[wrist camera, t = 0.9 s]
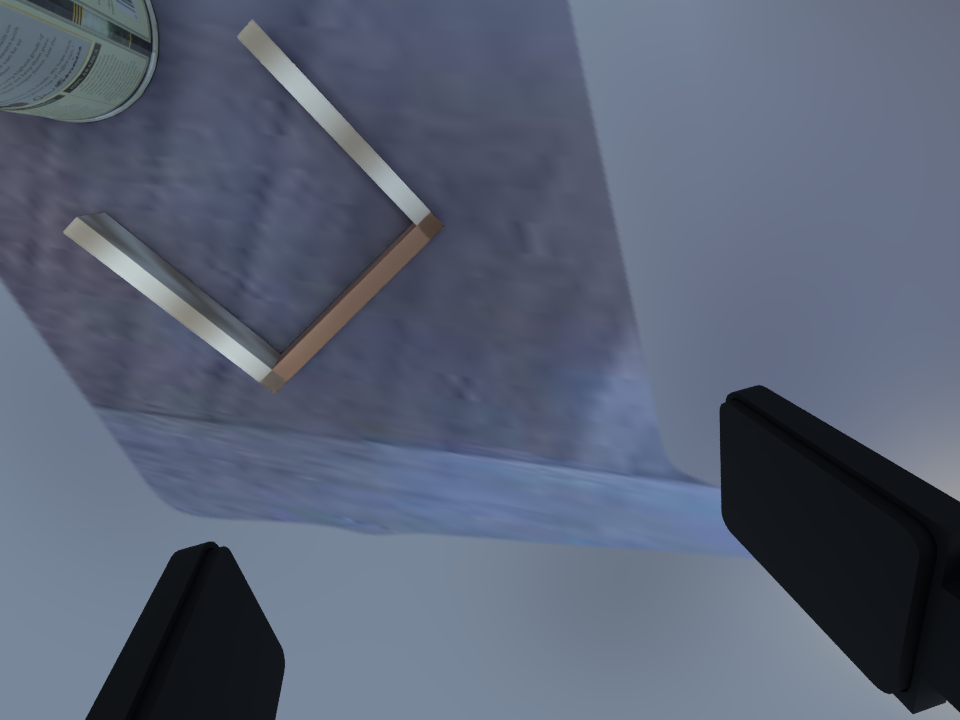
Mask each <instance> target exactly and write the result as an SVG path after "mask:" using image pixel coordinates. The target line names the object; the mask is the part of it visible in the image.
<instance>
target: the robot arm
mask: <svg viewBox="0 0 960 720" xmlns="http://www.w3.org/2000/svg"><path fill="white" fill-rule="evenodd" d="M720 455H721V457H720V458H721V509H722V517H723V520H724V522H725V525H726V526H727V528H728V529H729V531H730V532H731V533H732V534H733V535H734V536H735V537H736V538H737V540H738V541H739V542H740V543H741V544H742V545H743V546H744V547H745V548H746V549H747V550H748V551H749V552H750V553H751V554H752V555H753V557H754V558H755V559H756V560H757V561H758V562H759V563H760V564H761V565H762V566H763V567H764V568H765V569H766V570H767V571H768V572H769V574H770V575H771V576H772V577H773V578H774V579H775V580H776V581H777V582H778V583H779V584H780V585H781V586H782V587H783V588H784V589H785V591H787V593H788V594H789V595H790V596H791V597H792V598H793V599H794V600H795V601H796V602H797V603H798V604H799V605H800V607H801V608H802V609H803V610H804V611H805V612H806V613H807V614H808V615H809V616H810V617H811V618H812V619H813V620H814V621H815V622H816V624H817V625H818V626H819V627H820V628H821V629H822V630H823V631H824V632H825V633H826V634H827V635H828V636H829V637H830V638H831V639H832V641H833V642H834V643H835V644H836V645H837V646H838V647H839V648H840V649H841V650H842V651H843V652H844V653H845V654H846V655H847V656H848V658H850V660H851V661H852V662H853V663H854V664H855V665H856V666H857V667H858V668H859V669H860V670H861V671H862V672H863V673H864V675H865V676H866V677H867V678H868V679H869V680H870V681H871V682H872V683H873V684H874V685H875V686H876V687H877V688H878V689H880V690H881V691H883V692H884V693H887V694H892V693H893V694H894V695H895V696H896V697H897V698H898V699H899V700H900V701H901V702H902V703H903V704H904V705H905V707H906V708H907V709H908V710H909V711H910V712H911V713H912V714H915V713H918V712H921V711H923V710H926V709H929V708H932V707H935V706H937V705H940V704H943V703H946V700H947V701H948V702H949V703H950V704H952V705H953V706H954V707H955V708H956V709H957V710H958V711H959V712H960V502H959V501H958V500H956V499H954V498H952V497H950V496H949V495H947V494H946V493H944V492H942V491H941V490H939V489H937V488H935V487H934V486H932V485H930V484H929V483H927V482H925V481H924V480H922V479H920V478H919V477H917V476H915V475H913V474H912V473H910V472H908V471H907V470H905V469H903V468H902V467H900V466H898V465H896V464H895V463H893V462H891V461H890V460H888V459H886V458H885V457H883V456H881V455H880V454H878V453H876V452H874V451H873V450H871V449H869V448H868V447H866V446H864V445H863V444H861V443H859V442H857V441H856V440H854V439H852V438H850V437H849V436H847V435H846V434H844V433H842V432H840V431H839V430H837V429H835V428H834V427H832V426H830V425H829V424H827V423H825V422H823V421H822V420H820V419H818V418H817V417H815V416H813V415H812V414H810V413H808V412H807V411H805V410H803V409H801V408H800V407H798V406H796V405H795V404H793V403H791V402H790V401H788V400H786V399H784V398H783V397H781V396H779V395H778V394H776V393H774V392H773V391H771V390H769V389H768V388H766V387H764V386H760V385H758V386H753V387H750V388H746V389H743V390H739V391H736V392H732V393H730V394H729V395H728V396H727V398H726V402H725V403H723V404H721V406H720ZM284 669H285V659H284V653H283V649H282V647H281V645H280V643H279V641H278V640H277V638H276V636H275V634H274V632H273V630H272V628H271V626H270V624H269V622H268V621H267V619H266V617H265V615H264V613H263V611H262V609H261V607H260V605H259V604H258V602H257V600H256V598H255V596H254V594H253V592H252V590H251V589H250V587H249V585H248V583H247V581H246V579H245V577H244V575H243V574H242V572H241V570H240V568H239V566H238V564H237V562H236V560H235V559H234V557H233V555H232V553H231V551H230V550H229V549H228V548H227V547H224V546H223V547H219V546H218V545H217V544H216V543H215V542H206V543H203V544H199V545H196V546H192V547H189V548H185V549H182V550H179V551H177V552H175V553H174V554H173V556H172V557H171V559H170V561H169V562H168V564H167V566H166V568H165V570H164V572H163V574H162V576H161V577H160V579H159V581H158V583H157V585H156V587H155V589H154V591H153V593H152V594H151V596H150V598H149V600H148V602H147V604H146V606H145V608H144V610H143V612H142V614H141V615H140V617H139V619H138V621H137V623H136V625H135V627H134V629H133V630H132V632H131V634H130V636H129V638H128V640H127V642H126V644H125V646H124V647H123V649H122V652H121V653H120V655H119V657H118V659H117V661H116V663H115V664H114V666H113V668H112V670H111V672H110V674H109V676H108V678H107V680H106V682H105V683H104V685H103V687H102V689H101V691H100V693H99V695H98V697H97V698H96V700H95V702H94V704H93V706H92V708H91V710H90V712H89V714H88V716H87V717H86V719H85V720H275V718H276V713H277V707H278V702H279V697H280V691H281V686H282V681H283V676H284Z"/></svg>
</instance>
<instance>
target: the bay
mask: <svg viewBox="0 0 960 720" xmlns="http://www.w3.org/2000/svg"><path fill="white" fill-rule="evenodd" d="M237 38H238V39H239V40H240V41H241V42H242V43H243V44H244V45H245V46H246V47H247V48H248V49H249V50H250V51H251V53H252V54H253V55H254V56H255V57H256V58H257V59H258V60H259V61H260V62H261V63H262V64H263V65H264V66H265V67H266V68H267V69H268V70H269V71H270V72H271V73H272V75H273V76H274V77H275V78H276V79H277V80H278V81H279V82H280V83H281V84H282V85H283V86H284V87H285V88H286V89H287V90H288V91H289V92H290V93H291V94H292V96H293V97H294V98H295V99H296V100H297V101H298V102H299V103H300V104H301V105H302V106H303V107H304V108H305V109H306V110H307V111H308V112H309V113H310V114H311V115H312V116H313V118H314V119H315V120H316V121H317V122H318V123H319V124H320V125H321V126H322V127H323V128H324V129H325V130H326V131H327V132H328V133H329V134H330V135H331V136H332V137H333V138H334V140H335V141H336V142H337V143H338V144H339V145H340V146H341V147H342V148H343V149H344V150H345V151H346V152H347V153H348V154H349V155H350V156H351V157H352V158H353V159H354V161H355V162H356V163H357V164H358V165H359V166H360V167H361V168H362V169H363V170H364V171H365V172H366V173H367V174H368V175H369V176H370V177H371V178H372V179H373V180H374V181H375V183H376V184H377V185H378V186H379V187H380V188H381V189H382V190H383V191H384V192H385V193H386V194H387V195H388V196H389V197H390V198H391V199H392V200H393V201H394V202H395V203H396V205H397V206H398V207H399V208H400V209H401V210H402V211H403V212H404V213H405V214H406V215H407V216H408V217H409V218H410V219H411V220H412V221H413V222H412V223H411V224H410V225H409V226H408V227H407V228H406V229H405V230H404V231H403V232H402V233H401V234H400V235H399V236H398V237H397V238H396V239H395V240H394V241H393V242H392V243H391V244H390V245H389V246H388V247H387V248H386V249H385V250H384V251H383V252H382V253H381V254H380V255H379V256H378V257H377V258H376V259H375V260H374V261H373V262H372V263H371V264H370V265H369V266H368V267H367V268H366V269H365V270H364V271H363V272H362V273H361V274H360V275H359V276H358V277H357V278H356V279H355V280H354V281H353V282H352V283H351V284H350V285H349V286H348V287H347V288H346V289H345V290H344V291H343V292H342V293H341V294H340V295H339V296H338V297H337V298H336V299H335V300H334V301H333V302H332V303H331V304H330V305H329V306H328V307H327V308H326V309H325V310H324V311H323V312H322V313H321V314H320V315H319V316H318V317H317V318H316V319H315V320H314V321H313V322H312V323H311V324H310V325H309V326H308V327H307V328H306V329H305V330H304V331H303V332H302V333H301V334H300V335H299V336H298V337H297V338H296V339H295V340H294V341H293V342H292V343H291V344H290V345H289V346H288V347H287V348H286V349H285V350H284V351H283V352H282V353H281V354H280V353H279V352H278V351H276V350H275V349H274V348H273V347H272V346H270V345H269V344H268V343H267V342H265V341H264V340H263V339H262V338H260V337H259V336H258V335H257V334H255V333H254V332H253V331H252V330H250V329H249V328H248V327H247V326H245V325H244V324H243V323H242V322H240V321H239V320H238V319H237V318H235V317H234V316H233V315H232V314H230V313H229V312H228V311H227V310H226V309H224V308H223V307H222V306H221V305H219V304H218V303H217V302H216V301H214V300H213V299H212V298H211V297H209V296H208V295H207V294H206V293H204V292H203V291H202V290H201V289H199V288H198V287H197V286H196V285H194V284H193V283H192V282H191V281H189V280H188V279H187V278H186V277H184V276H183V275H182V274H181V273H179V272H178V271H177V270H176V269H175V268H173V267H172V266H171V265H170V264H168V263H167V262H166V261H165V260H163V259H162V258H161V257H160V256H158V255H157V254H156V253H155V252H153V251H152V250H151V249H150V248H148V247H147V246H146V245H145V244H143V243H142V242H141V241H140V240H138V239H137V238H136V237H135V236H133V235H132V234H131V233H130V232H128V231H127V230H126V229H125V228H124V227H122V226H121V225H120V224H119V223H117V222H116V221H115V220H114V219H112V218H111V217H110V216H109V215H107V214H106V213H98V214H92V215H85V216H78V217H76V218H75V219H74V220H73V222H72V223H71V224H70V225H69V226H68V227H67V228H66V229H65V231H64V232H63V233H64V234H66V235H67V236H68V237H70V238H71V239H72V240H74V241H75V242H76V243H78V244H79V245H80V246H81V247H83V248H84V249H85V250H87V251H88V252H89V253H91V254H92V255H93V256H95V257H96V258H97V259H98V260H100V261H101V262H102V263H104V264H105V265H106V266H108V267H109V268H110V269H112V270H113V271H114V272H116V273H117V274H118V275H119V276H121V277H122V278H123V279H125V280H126V281H127V282H129V283H130V284H131V285H133V286H134V287H135V288H136V289H138V290H139V291H140V292H142V293H143V294H144V295H146V296H147V297H148V298H150V299H151V300H152V301H153V302H155V303H156V304H157V305H159V306H160V307H161V308H163V309H164V310H165V311H167V312H168V313H169V314H171V315H172V316H173V317H174V318H176V319H177V320H178V321H180V322H181V323H182V324H184V325H185V326H186V327H188V328H189V329H190V330H191V331H193V332H194V333H195V334H197V335H198V336H199V337H201V338H202V339H203V340H205V341H206V342H207V343H208V344H210V345H211V346H212V347H214V348H215V349H216V350H218V351H219V352H220V353H222V354H223V355H224V356H226V357H227V358H228V359H229V360H231V361H232V362H233V363H235V364H236V365H237V366H239V367H240V368H241V369H243V370H244V371H245V372H246V373H248V374H249V375H250V376H252V377H253V378H254V379H256V380H257V381H258V382H260V383H261V384H262V385H263V386H265V387H266V388H267V389H269V390H270V391H271V392H273V393H274V394H275V393H276V392H277V391H278V390H279V389H280V388H281V387H282V386H283V385H284V384H285V383H286V382H287V381H288V380H289V379H290V378H291V377H292V376H293V375H295V374H296V373H297V372H298V371H299V370H300V369H301V368H302V367H303V366H304V365H305V364H306V363H307V362H308V361H309V360H310V359H311V358H312V357H313V356H314V355H315V354H316V353H317V352H318V351H319V350H320V349H321V348H322V347H323V346H324V345H325V344H326V343H327V342H328V341H329V340H330V339H331V338H332V337H333V336H334V335H335V334H336V333H337V332H338V331H339V330H340V329H341V328H342V327H343V326H344V325H345V324H346V323H347V322H348V321H349V320H350V319H351V318H352V317H353V316H354V315H355V314H356V313H357V312H358V311H359V310H360V309H361V308H362V307H363V306H364V305H365V304H366V303H367V302H368V301H369V300H370V299H371V298H372V297H373V296H374V295H375V294H376V293H377V292H378V291H379V290H380V289H381V288H382V287H383V286H385V285H386V284H387V283H388V282H389V281H390V280H391V279H392V278H393V277H394V276H395V275H396V274H397V273H398V272H399V271H400V270H401V269H402V268H403V267H404V266H405V265H406V264H407V263H408V262H409V261H410V260H411V259H412V258H413V257H414V256H415V255H416V254H417V253H418V252H419V251H420V250H421V249H422V248H423V247H424V246H425V245H426V244H427V243H428V242H429V241H430V240H431V239H432V238H433V237H434V236H435V235H436V234H437V233H438V232H439V231H440V230H441V229H442V228H443V227H444V225H443V224H442V223H441V222H440V221H439V220H438V219H437V218H436V217H435V216H434V215H433V214H432V212H431V211H430V210H429V209H428V208H427V207H426V206H425V205H424V204H423V203H422V202H421V201H420V200H419V198H418V197H417V196H416V195H415V194H414V193H413V192H412V191H411V190H410V189H409V188H408V187H407V186H406V184H405V183H404V182H403V181H402V180H401V179H400V178H399V177H398V176H397V175H396V174H395V173H394V172H393V170H392V169H391V168H390V167H389V166H388V165H387V164H386V163H385V162H384V161H383V160H382V159H381V157H380V156H379V155H378V154H377V153H376V152H375V151H374V150H373V149H372V148H371V147H370V146H369V145H368V143H367V142H366V141H365V140H364V139H363V138H362V137H361V136H360V135H359V134H358V133H357V132H356V131H355V129H354V128H353V127H352V126H351V125H350V124H349V123H348V122H347V121H346V120H345V119H344V118H343V117H342V115H341V114H340V113H339V112H338V111H337V110H336V109H335V108H334V107H333V106H332V105H331V104H330V102H329V101H328V100H327V99H326V98H325V97H324V96H323V95H322V94H321V93H320V92H319V91H318V90H317V88H316V87H315V86H314V85H313V84H312V83H311V82H310V81H309V80H308V79H307V78H306V77H305V76H304V74H303V73H302V72H301V71H300V70H299V69H298V68H297V67H296V66H295V65H294V64H293V63H292V62H291V60H290V59H289V58H288V57H287V56H286V55H285V54H284V53H283V52H282V51H281V50H280V49H279V47H278V46H277V45H276V44H275V43H274V42H273V41H272V40H271V39H270V38H269V37H268V36H267V35H266V33H265V32H264V31H263V30H262V29H261V28H260V27H259V26H258V25H257V24H256V23H255V22H254V21H253V19H252V20H251V21H250V22H249V23H248V25H247V26H246V27H245V28H244V29H243V30H242V31H241V33H240V34H239V35H238V36H237Z"/></svg>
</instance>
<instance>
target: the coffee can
mask: <svg viewBox="0 0 960 720" xmlns="http://www.w3.org/2000/svg"><path fill="white" fill-rule="evenodd" d="M157 28H158V25H157V22H156V18H155V14H154V11H153V7H152V4H151V1H150V0H0V110H1V111H8V112H14V113H21V114H29V115H36V116H43V117H47V118H51V119H55V120H60V121H66V122H75V123H82V122H93V121H99V120H103V119H106V118H109V117H113V116H115V115H117V114H118V113H120V112H122V111H124V110H125V109H127V108H128V107H129V106H131V105H132V104H133V103H134V102H135V101H136V100H137V99H138V98H140V97H141V96H142V94H143V92H144V90H145V88H146V87H147V86H148V84H149V82H150V80H151V78H152V75H153V73H154V70H155V66H156V62H157V56H158V30H157Z"/></svg>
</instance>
